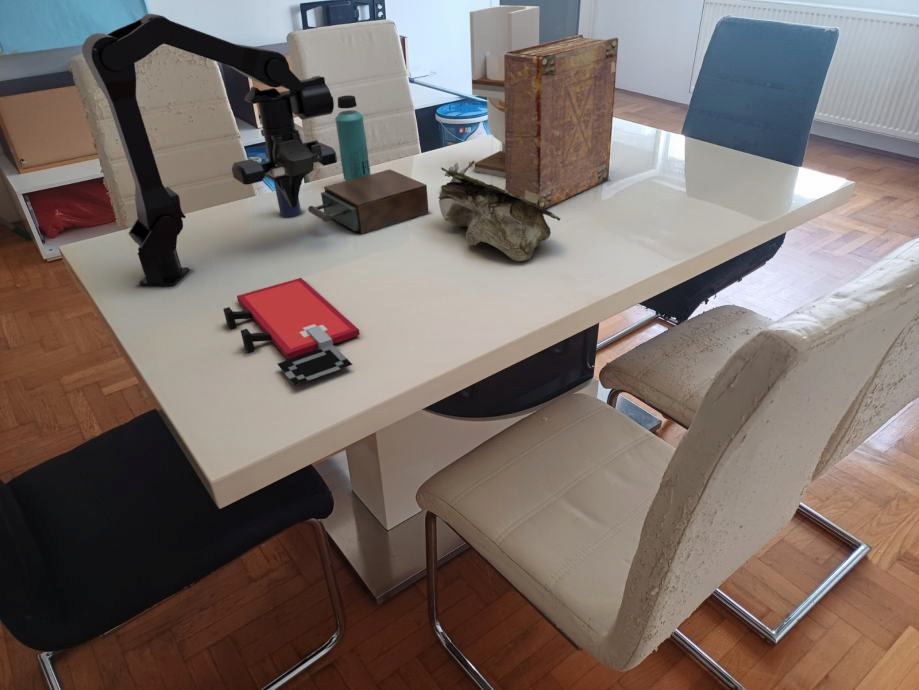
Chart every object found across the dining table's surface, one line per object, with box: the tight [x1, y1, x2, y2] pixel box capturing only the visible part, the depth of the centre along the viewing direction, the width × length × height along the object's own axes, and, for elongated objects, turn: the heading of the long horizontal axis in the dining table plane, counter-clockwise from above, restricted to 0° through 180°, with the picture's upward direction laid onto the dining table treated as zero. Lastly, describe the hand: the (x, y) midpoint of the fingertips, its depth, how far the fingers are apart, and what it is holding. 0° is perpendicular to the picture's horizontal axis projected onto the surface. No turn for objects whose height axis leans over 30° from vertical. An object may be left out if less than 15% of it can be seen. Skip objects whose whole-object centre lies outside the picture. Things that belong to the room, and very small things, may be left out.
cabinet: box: [323, 169, 430, 235], centre depth 141 cm, size 16×14×6 cm
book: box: [504, 34, 619, 210], centre depth 141 cm, size 25×9×30 cm, turn 136°
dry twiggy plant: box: [444, 160, 476, 182], centre depth 150 cm, size 10×6×9 cm
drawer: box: [307, 190, 360, 232], centre depth 139 cm, size 20×13×5 cm, turn 127°
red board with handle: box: [223, 277, 361, 386], centre depth 102 cm, size 30×3×15 cm
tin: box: [273, 181, 302, 219], centre depth 142 cm, size 5×5×10 cm
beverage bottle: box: [334, 94, 372, 181], centre depth 154 cm, size 6×7×20 cm
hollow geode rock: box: [438, 166, 562, 262], centre depth 125 cm, size 28×13×15 cm
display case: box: [469, 4, 541, 178], centre depth 155 cm, size 11×11×35 cm
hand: (293, 206), depth 130 cm, fingers closed
